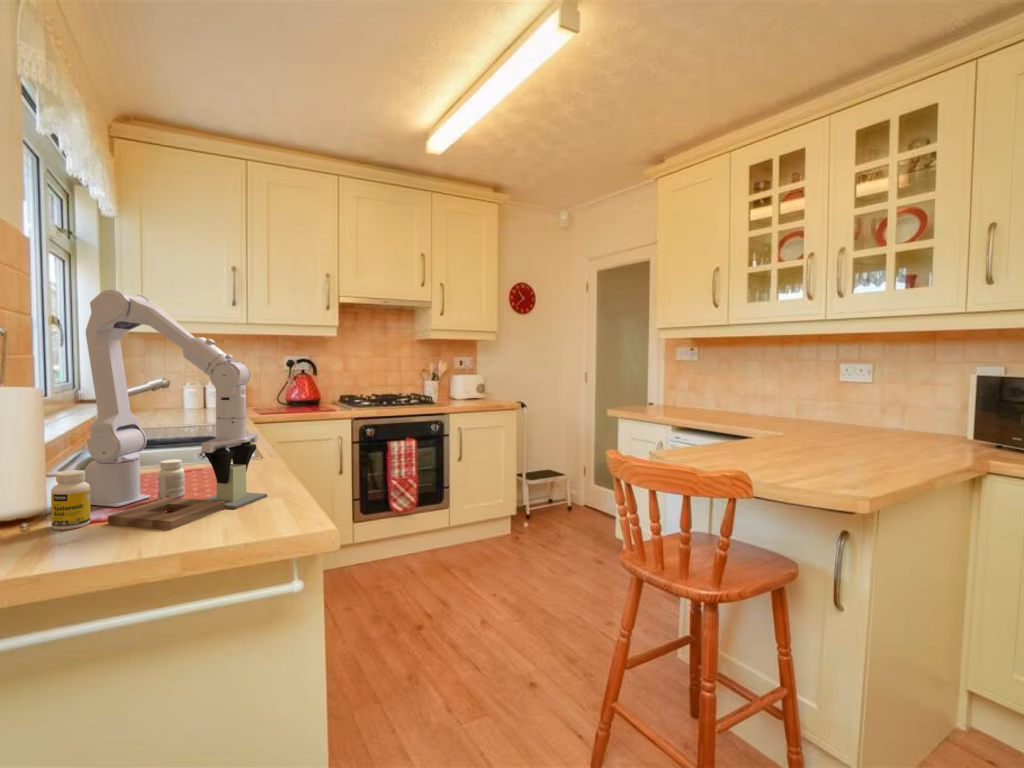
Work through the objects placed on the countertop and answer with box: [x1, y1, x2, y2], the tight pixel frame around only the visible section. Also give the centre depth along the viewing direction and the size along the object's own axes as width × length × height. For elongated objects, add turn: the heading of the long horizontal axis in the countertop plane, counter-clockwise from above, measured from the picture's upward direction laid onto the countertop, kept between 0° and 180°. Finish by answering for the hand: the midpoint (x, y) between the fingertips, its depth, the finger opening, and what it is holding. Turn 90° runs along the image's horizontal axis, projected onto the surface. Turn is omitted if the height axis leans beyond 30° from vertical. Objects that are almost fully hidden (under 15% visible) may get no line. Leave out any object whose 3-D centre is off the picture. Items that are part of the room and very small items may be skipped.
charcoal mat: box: [202, 491, 268, 510], centre depth 112 cm, size 10×10×1 cm
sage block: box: [216, 463, 247, 501], centre depth 112 cm, size 4×4×7 cm
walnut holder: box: [107, 497, 226, 530], centre depth 101 cm, size 13×13×2 cm
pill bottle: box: [157, 458, 186, 500], centre depth 112 cm, size 5×5×8 cm
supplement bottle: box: [50, 469, 91, 531], centre depth 94 cm, size 5×5×10 cm
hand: (231, 480), depth 112 cm, fingers open, 5 cm apart
